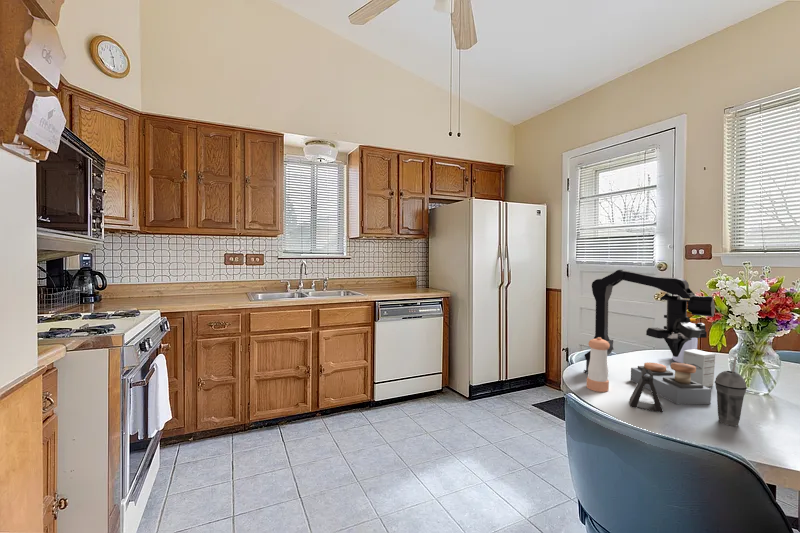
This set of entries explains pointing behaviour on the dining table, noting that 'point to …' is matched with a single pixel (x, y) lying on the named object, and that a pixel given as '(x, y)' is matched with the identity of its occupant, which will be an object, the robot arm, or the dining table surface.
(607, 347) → the salt shaker
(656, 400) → the phone stand
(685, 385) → the socket block
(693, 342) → the soap bottle
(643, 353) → the dining table surface
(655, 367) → the pin left
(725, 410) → the beverage cup
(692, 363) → the supplement box
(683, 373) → the pin right
